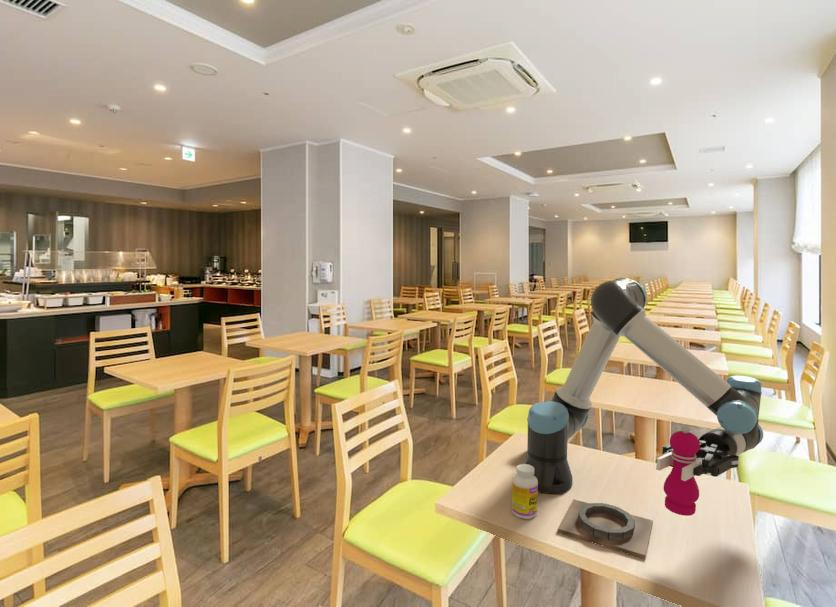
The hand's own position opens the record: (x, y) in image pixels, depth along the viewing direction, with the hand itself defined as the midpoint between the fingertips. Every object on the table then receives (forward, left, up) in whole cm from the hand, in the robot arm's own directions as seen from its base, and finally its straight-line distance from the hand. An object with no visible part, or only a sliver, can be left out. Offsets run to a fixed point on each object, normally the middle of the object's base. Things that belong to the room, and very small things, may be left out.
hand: (670, 469), depth 105 cm
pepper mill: (+2, +5, -11) cm, 12 cm away
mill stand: (-14, +6, -22) cm, 26 cm away
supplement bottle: (-34, +2, -22) cm, 40 cm away
